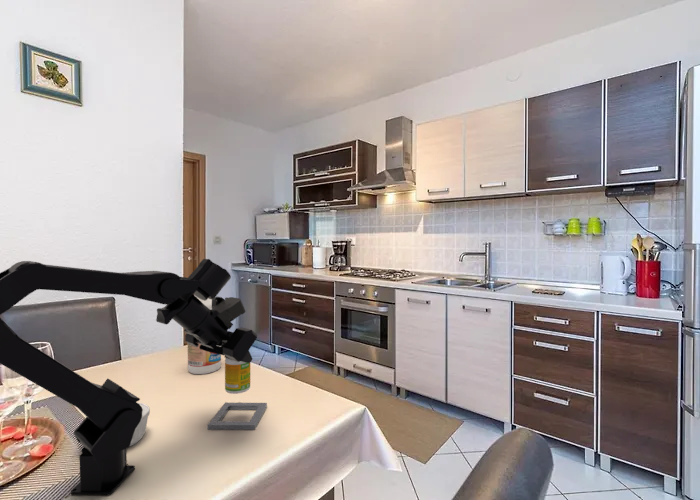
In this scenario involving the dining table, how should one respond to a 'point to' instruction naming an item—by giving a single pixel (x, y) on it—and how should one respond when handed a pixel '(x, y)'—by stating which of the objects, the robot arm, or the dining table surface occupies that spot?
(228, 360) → the supplement bottle
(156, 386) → the dining table surface
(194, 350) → the fruit juice
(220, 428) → the frame
